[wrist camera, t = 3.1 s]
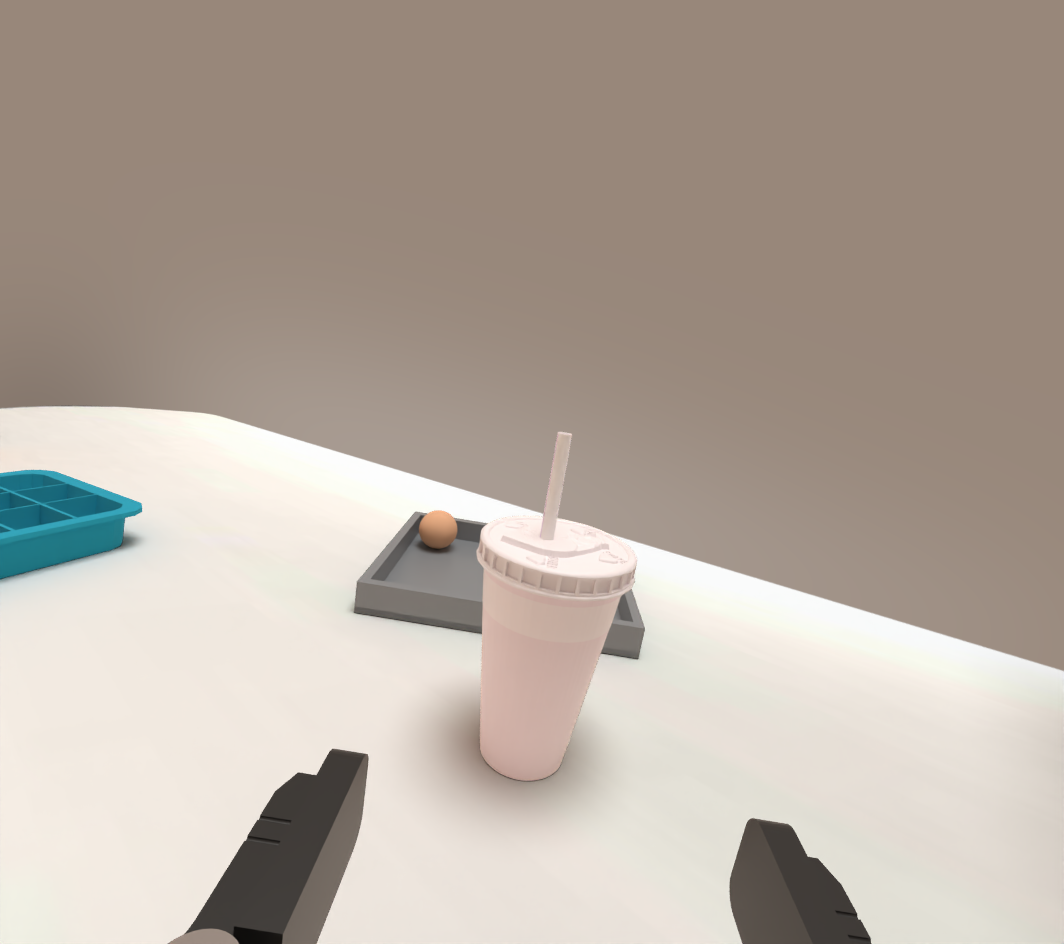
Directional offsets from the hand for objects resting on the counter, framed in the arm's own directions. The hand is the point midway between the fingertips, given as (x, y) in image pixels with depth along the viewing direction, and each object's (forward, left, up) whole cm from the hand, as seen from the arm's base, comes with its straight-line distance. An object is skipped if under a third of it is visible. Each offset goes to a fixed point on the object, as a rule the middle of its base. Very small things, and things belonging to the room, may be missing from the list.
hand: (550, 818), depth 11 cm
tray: (+2, -27, -8) cm, 28 cm away
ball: (+8, -31, -7) cm, 33 cm away
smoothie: (0, -11, -8) cm, 14 cm away
